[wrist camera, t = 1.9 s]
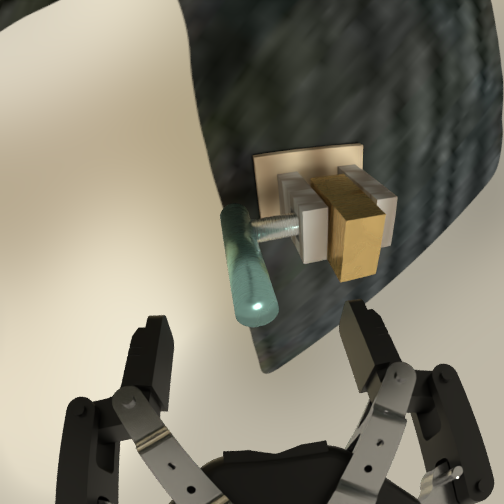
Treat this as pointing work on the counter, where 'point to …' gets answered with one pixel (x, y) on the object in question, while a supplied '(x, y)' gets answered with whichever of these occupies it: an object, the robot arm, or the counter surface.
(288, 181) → the frame
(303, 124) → the counter surface
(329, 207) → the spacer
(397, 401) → the robot arm
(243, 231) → the shaft
